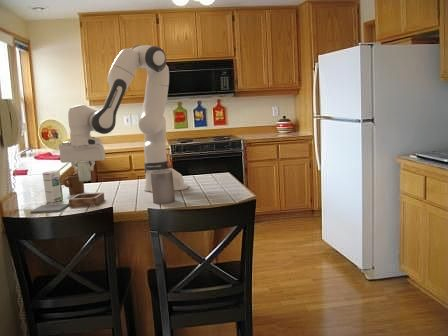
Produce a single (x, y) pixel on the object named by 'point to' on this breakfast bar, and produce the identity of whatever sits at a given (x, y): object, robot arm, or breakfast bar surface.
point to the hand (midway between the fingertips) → (84, 171)
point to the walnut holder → (86, 199)
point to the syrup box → (52, 186)
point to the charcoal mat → (50, 208)
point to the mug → (74, 184)
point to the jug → (84, 171)
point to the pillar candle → (162, 186)
